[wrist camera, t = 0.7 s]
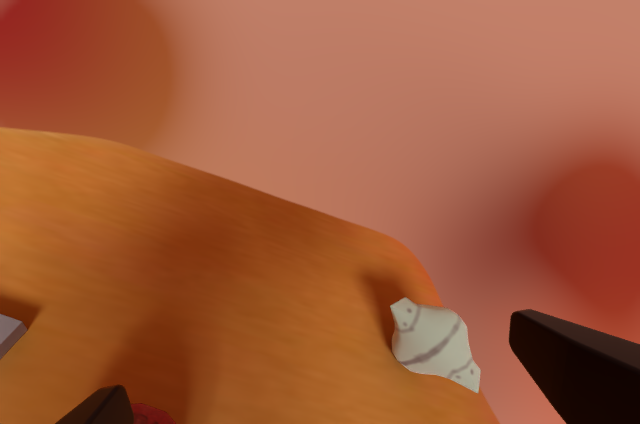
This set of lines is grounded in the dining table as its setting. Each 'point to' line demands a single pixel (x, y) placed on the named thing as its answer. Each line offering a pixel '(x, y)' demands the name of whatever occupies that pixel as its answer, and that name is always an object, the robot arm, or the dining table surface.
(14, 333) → the plate
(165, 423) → the onion
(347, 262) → the dining table surface
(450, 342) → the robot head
